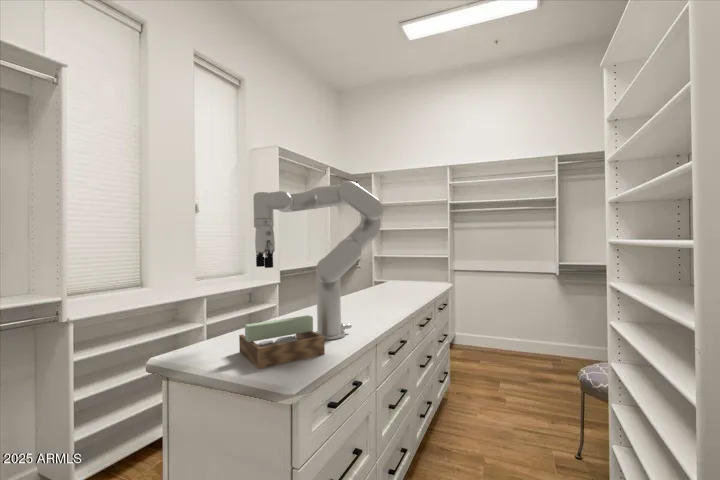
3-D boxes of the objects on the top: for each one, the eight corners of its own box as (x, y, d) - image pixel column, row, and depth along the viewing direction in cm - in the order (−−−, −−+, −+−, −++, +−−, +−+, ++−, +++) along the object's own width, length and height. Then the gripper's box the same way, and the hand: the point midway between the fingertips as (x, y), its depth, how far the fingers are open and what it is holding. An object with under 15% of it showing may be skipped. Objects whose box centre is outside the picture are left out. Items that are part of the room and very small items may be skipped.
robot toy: (253, 363, 112) (300, 355, 116) (252, 349, 112) (299, 342, 116) (256, 352, 124) (298, 345, 128) (254, 339, 124) (297, 333, 128)
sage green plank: (248, 342, 112) (248, 326, 112) (245, 339, 115) (244, 324, 115) (313, 330, 125) (312, 316, 125) (308, 329, 128) (308, 315, 128)
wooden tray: (299, 340, 134) (298, 325, 134) (324, 354, 117) (324, 336, 117) (239, 352, 121) (239, 334, 121) (258, 368, 105) (258, 348, 105)
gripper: (281, 222, 133) (281, 267, 133) (265, 225, 147) (266, 265, 147) (261, 222, 129) (262, 268, 129) (247, 224, 143) (248, 266, 143)
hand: (264, 267), depth 138 cm, fingers open, 9 cm apart
